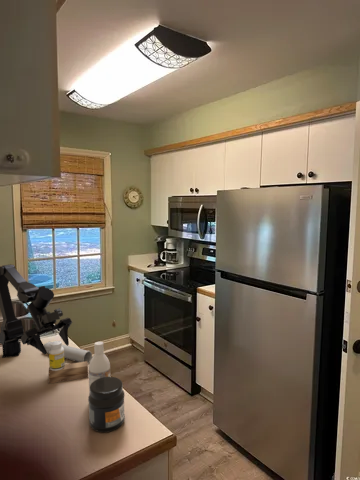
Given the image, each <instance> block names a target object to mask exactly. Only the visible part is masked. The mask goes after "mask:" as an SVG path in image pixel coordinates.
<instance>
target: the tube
mask: <svg viewBox="0 0 360 480" xmlns="http://www.w3.org/2000/svg"><path fill="white" fill-rule="evenodd" d="M51 342H52V341H48V342H45V343H44V344H43V345H44V347H45V349H46V352H47V354H48V355H49V350H50V348H51V347H50V344H51ZM62 347H63V348H64V359H67V360H70V361H73V362H76V363H79V362H86V361H87V363H88V364H89V363H90V361H91V359H92V357H93V353H92V352H91V351H90V350H87V349H82V348H78V347H75V346H70V345H68V346H67V345H66V344H62Z"/></svg>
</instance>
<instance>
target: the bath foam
mask: <svg viewBox="0 0 360 480" xmlns="http://www.w3.org/2000/svg"><path fill="white" fill-rule="evenodd" d="M93 350H94V351H93V352H94V354H93V355H92V359H91V361H90V362H89V363H88V393H89V395H90V385H91V384H92V383H93V382H94V381H95V380H97V379H99V378H103V377H111V363H110V360H109V358H108V357H107V355H106V354H105V351H104V350H105V349H104V341H96V342H94V349H93ZM89 395H88V396H89Z"/></svg>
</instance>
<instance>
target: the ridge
mask: <svg viewBox="0 0 360 480" xmlns="http://www.w3.org/2000/svg"><path fill="white" fill-rule="evenodd" d="M86 378H89V363H87V361H86V362H73V363H67V364H66V363H65V367H64V368H63V369H61V370H58V371H52V370H50V366H49V367H48V384H53V383H60V382H65V381H72V380H79V379H80V380H81V379H86Z"/></svg>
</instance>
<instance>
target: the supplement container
mask: <svg viewBox="0 0 360 480" xmlns="http://www.w3.org/2000/svg"><path fill="white" fill-rule="evenodd" d="M123 385H124V384H123V381H122V379H120V378H119V377H116V376H115V377H114V376H110V377H103V378H99V379H97V380H95V381H94V382H93V383H92V384H91V385H90V395H88V399H87V400H88V417H89V419H88V423H89V426H90V428H91V429H92V430H93V431H96V432H99V433H108V432H109V433H110V432H112V431H115V430H117V429H118V428H120V427H121V426H122V425H123V423H124V421H125V419H126V418H125V392H124V388H123Z"/></svg>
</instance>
